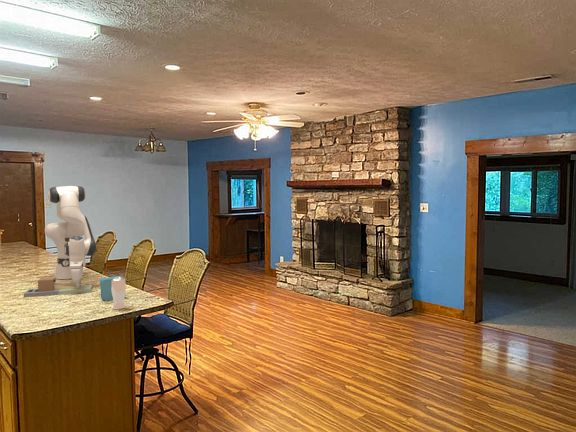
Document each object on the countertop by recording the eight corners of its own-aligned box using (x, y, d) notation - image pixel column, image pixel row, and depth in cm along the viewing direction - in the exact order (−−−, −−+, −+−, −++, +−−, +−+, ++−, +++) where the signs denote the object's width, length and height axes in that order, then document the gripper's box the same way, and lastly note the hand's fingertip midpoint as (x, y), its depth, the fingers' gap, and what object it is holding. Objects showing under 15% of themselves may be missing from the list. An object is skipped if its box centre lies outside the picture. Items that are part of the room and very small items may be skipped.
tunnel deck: (29, 292, 269) (28, 277, 268) (92, 287, 280) (91, 274, 279) (23, 297, 256) (23, 282, 256) (90, 292, 267) (89, 277, 267)
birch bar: (50, 288, 268) (50, 282, 268) (80, 286, 273) (79, 280, 273) (49, 290, 264) (49, 283, 264) (79, 288, 269) (78, 281, 269)
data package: (122, 296, 256) (122, 275, 255) (125, 298, 252) (124, 277, 252) (100, 299, 249) (100, 278, 248) (103, 301, 245) (102, 279, 244)
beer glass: (128, 306, 234) (127, 277, 234) (123, 309, 227) (122, 280, 227) (114, 306, 234) (113, 277, 233) (109, 309, 227) (108, 280, 226)
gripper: (74, 261, 279) (75, 283, 280) (69, 266, 260) (70, 289, 261) (85, 260, 281) (86, 282, 282) (81, 265, 262) (81, 289, 262)
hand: (78, 286), depth 271 cm, fingers closed on birch bar, 4 cm apart
